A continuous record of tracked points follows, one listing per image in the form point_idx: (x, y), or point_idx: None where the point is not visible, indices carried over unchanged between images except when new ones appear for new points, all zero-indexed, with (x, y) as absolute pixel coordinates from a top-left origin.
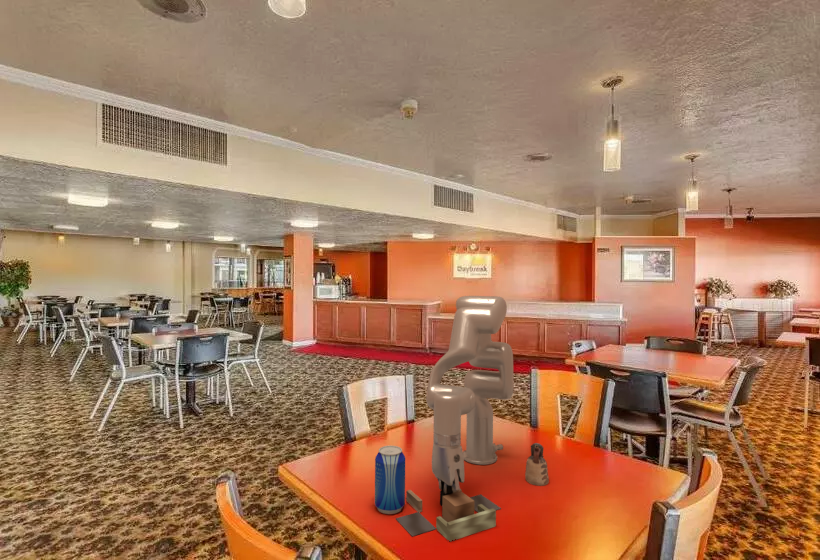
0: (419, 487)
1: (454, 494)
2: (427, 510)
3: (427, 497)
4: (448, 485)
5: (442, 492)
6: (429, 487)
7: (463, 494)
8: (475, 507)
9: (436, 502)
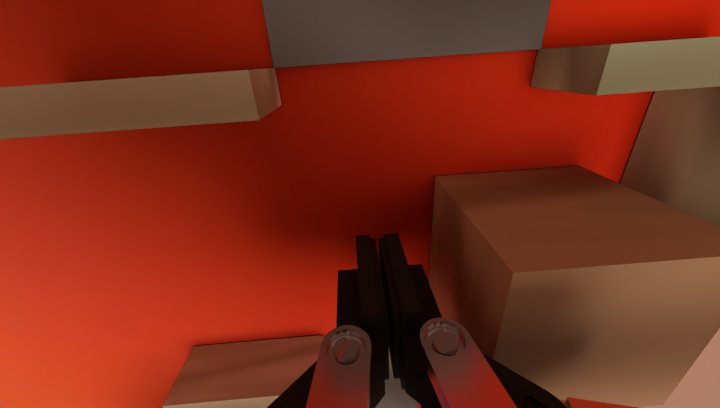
0: (19, 259)
1: (523, 350)
2: (321, 313)
3: (176, 265)
4: (373, 366)
5: (404, 388)
6: (14, 200)
7: (588, 283)
8: (437, 27)
9: (252, 245)
